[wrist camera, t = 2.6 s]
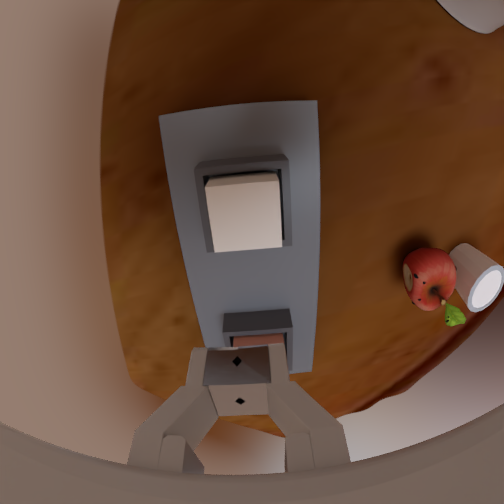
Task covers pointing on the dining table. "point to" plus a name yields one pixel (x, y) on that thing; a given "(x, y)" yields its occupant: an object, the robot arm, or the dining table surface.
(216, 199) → the key ivory
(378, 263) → the dining table surface
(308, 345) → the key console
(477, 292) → the white short cylinder
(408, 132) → the dining table surface
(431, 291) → the apple
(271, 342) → the key brick
